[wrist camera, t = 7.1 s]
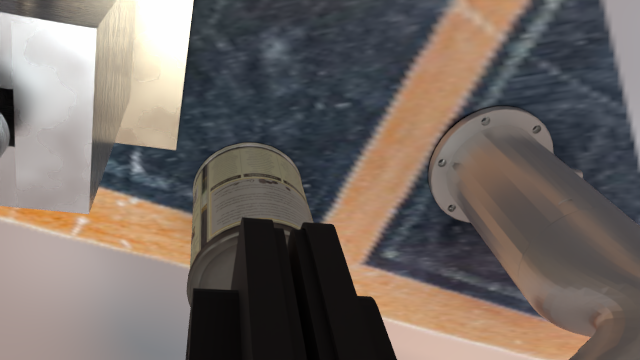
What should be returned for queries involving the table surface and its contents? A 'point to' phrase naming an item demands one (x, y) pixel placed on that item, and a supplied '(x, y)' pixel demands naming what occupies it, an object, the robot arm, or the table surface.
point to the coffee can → (239, 207)
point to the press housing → (85, 91)
